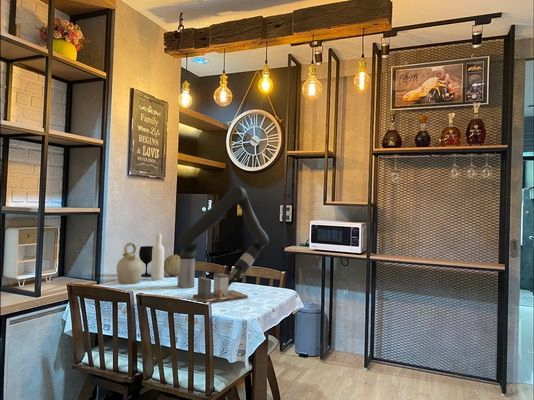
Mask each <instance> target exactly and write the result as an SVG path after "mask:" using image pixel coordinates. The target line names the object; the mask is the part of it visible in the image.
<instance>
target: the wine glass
mask: <svg viewBox="0 0 534 400" xmlns="http://www.w3.org/2000/svg"><path fill="white" fill-rule="evenodd" d="M153 247H154V246H153V245H142V246H140V247H139V251H138V256H139V257H138V258H139V259H140V260H141V262H142V264H144V265H145V272H144V273H142V274H141V278H151V274H152V273H148V265H149V264H150V263H152V249H153Z"/></svg>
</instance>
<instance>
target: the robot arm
mask: <svg viewBox="0 0 534 400" xmlns="http://www.w3.org/2000/svg"><path fill="white" fill-rule="evenodd" d="M248 196H249V195H248V194H247V191H246V189H245V188H244V187H242V186H238V185H236V186H235V185H234V186H233V187H231V188H229V190H228V191H227V192H226V193H225V194H224V196H222V198H221V199H220V200H219V201H218V202H217V203H214V205H213V206H212V207H210V208H209V209H208V210H207V211H206V212H204V214H202V216H200V218H198V220H197V221H196V222H194V224H192V225H191V226H190V227H189V228H187V229H186V230H185V231H184V232H182V233H181V234H180V235H179V236H178V239H177V241H178V242H177V243H178V245H179V246H180V247H181V252H180V253H179V256H180V265H179V271H178V276H177V287H178V288H180V289H182V288H183V289H192V288H194V287H195V275H196V274H195V273H196V272H195V271H196V270H195V269H196V268H195V267H196V254H197V247H198V237H200V236H201V235H202V234H203V233H206V232H207V231H209V230H210V229H211V228H213V227H215V225H217V224H218V223H219V222H221V220H222V219H223V218H224V216H225V215H226V213H228V211H229V209H230V208H232V207H233V206H234V205H235V204H238V206H239V208H240V210H241V211H242V212H241V213H242V214H243V219H244V222H245V224H246V226H247V228H248V231H249V232H250V233H251V234H252V235H253V236H254V237H255V239H254V240H253V242H252V243H251V244H250V247H248V248H247V250H246V251H245V252H244V253H243V254H242V256H240V258H239V259H238V260H237V261H236V262H235V264H234V266H235V267H234V268H232V270H228V272H227V275H229V277H228V288H229V287H230V286H231V285H232V284H234V283H237V282H238V281H240V280H242V279H243V278H244V276H243V274H246V273H247V271H248V270H249V269H250V268H251V266H252V265H253V263H254V262H255V261H256V259H257V258H258V257H259V255H260V253H261V252H262V250H263V249H264V248H265V247H267V246H268V245H269V244H270V239H269V236H268V234H267V233H266V231H265V230H264V229H263V228H262V226H261V224H260V221H259V219H258V218H257V216H256V214H255V212H254V210H253V207H252V206H251V203H250V199H249V197H248Z"/></svg>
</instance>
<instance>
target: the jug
mask: <svg viewBox="0 0 534 400" xmlns="http://www.w3.org/2000/svg"><path fill="white" fill-rule="evenodd" d="M129 246H132V248H133V251H132V252H128V247H129ZM123 250H124V251H123V253H122V256H123V257H122V258H120V259H119V261H118V262H117V264H116V273H117V280H118V282H119V284H121V285H137V284H139V283H140V281H141V279H142V277H141V274H143V267H144V266H143V262H142V261H141V260H140V257H137V256H136V252H137V246H136V244H135V243H133V242H128V243H126V244H125V246H124V248H123ZM136 283H137V284H136Z"/></svg>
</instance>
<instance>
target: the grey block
mask: <svg viewBox="0 0 534 400" xmlns="http://www.w3.org/2000/svg"><path fill="white" fill-rule="evenodd" d="M228 277H229V275H228V274H226V273H223V272H221V273H213V292H214V293H213V294H214V295H217V296H218V294H219V289H222V296H228V290H229V287H228Z"/></svg>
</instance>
